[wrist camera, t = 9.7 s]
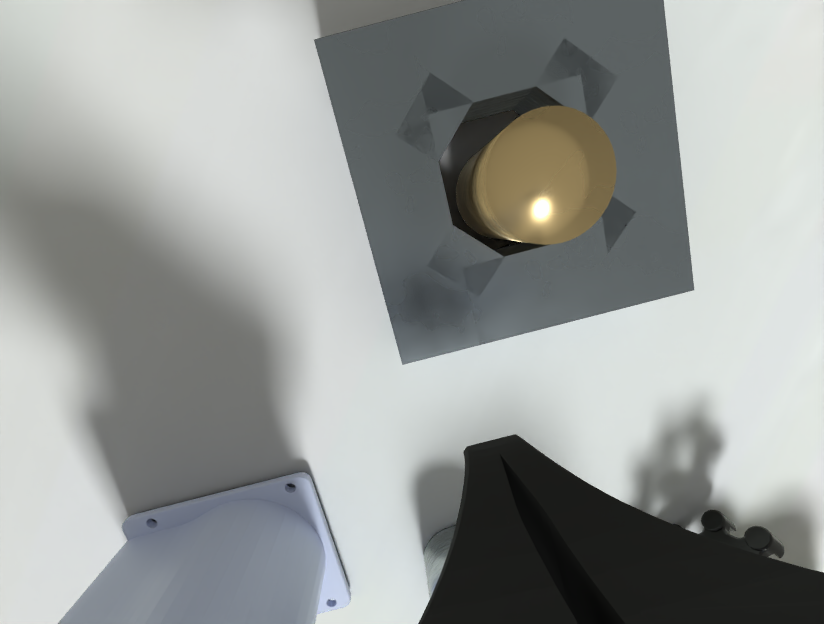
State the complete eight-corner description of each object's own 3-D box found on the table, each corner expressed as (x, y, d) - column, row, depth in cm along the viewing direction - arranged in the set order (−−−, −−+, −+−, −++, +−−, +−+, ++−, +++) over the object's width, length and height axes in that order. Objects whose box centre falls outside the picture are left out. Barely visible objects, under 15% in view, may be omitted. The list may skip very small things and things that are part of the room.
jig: (401, 343, 19) (402, 364, 17) (327, 71, 17) (314, 39, 14) (648, 280, 19) (694, 290, 16) (611, -3, 17) (658, -52, 14)
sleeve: (451, 592, 23) (467, 672, 19) (410, 553, 22) (418, 628, 18) (503, 555, 22) (531, 628, 18) (464, 513, 21) (484, 581, 17)
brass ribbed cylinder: (466, 248, 19) (499, 258, 13) (447, 157, 18) (473, 124, 12) (551, 226, 19) (624, 227, 13) (536, 135, 18) (607, 90, 12)
